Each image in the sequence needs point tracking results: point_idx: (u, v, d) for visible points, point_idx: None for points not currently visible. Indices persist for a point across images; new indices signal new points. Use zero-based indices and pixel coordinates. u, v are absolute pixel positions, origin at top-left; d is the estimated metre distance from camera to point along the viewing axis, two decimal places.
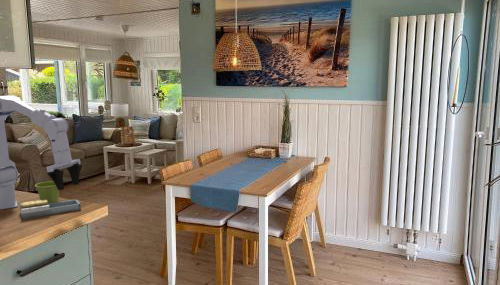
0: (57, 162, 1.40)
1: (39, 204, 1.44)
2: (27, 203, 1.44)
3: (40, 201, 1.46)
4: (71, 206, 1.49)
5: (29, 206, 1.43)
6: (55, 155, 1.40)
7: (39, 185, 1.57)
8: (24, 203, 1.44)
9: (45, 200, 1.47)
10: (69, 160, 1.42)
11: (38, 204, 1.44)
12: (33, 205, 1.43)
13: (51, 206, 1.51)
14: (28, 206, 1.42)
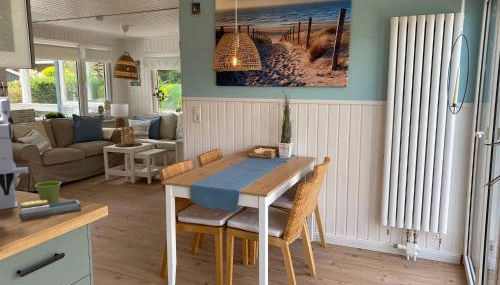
0: None
1: (39, 204, 1.44)
2: (27, 203, 1.44)
3: (40, 201, 1.46)
4: (71, 206, 1.49)
5: (29, 206, 1.43)
6: None
7: (39, 185, 1.57)
8: (24, 203, 1.44)
9: (45, 200, 1.47)
10: (4, 169, 1.36)
11: (38, 204, 1.44)
12: (33, 205, 1.43)
13: (51, 206, 1.51)
14: (28, 206, 1.42)
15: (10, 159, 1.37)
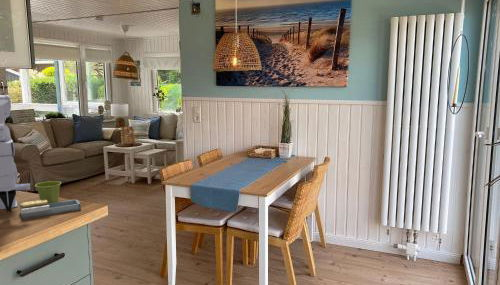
0: None
1: (39, 204, 1.44)
2: (27, 203, 1.44)
3: (40, 201, 1.46)
4: (71, 206, 1.49)
5: (29, 206, 1.43)
6: None
7: (39, 185, 1.57)
8: (24, 203, 1.44)
9: (45, 200, 1.47)
10: (6, 186, 1.37)
11: (38, 204, 1.44)
12: (33, 205, 1.43)
13: (51, 206, 1.51)
14: (28, 206, 1.42)
15: (12, 176, 1.38)
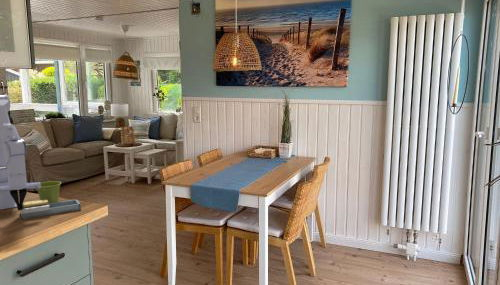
0: (8, 184, 1.40)
1: (39, 204, 1.44)
2: (28, 203, 1.44)
3: (40, 201, 1.46)
4: (71, 206, 1.49)
5: (30, 206, 1.43)
6: (8, 177, 1.40)
7: None
8: (25, 203, 1.44)
9: (45, 200, 1.47)
10: (18, 185, 1.39)
11: (38, 204, 1.44)
12: (34, 205, 1.43)
13: (51, 206, 1.51)
14: (29, 206, 1.43)
15: (23, 175, 1.40)
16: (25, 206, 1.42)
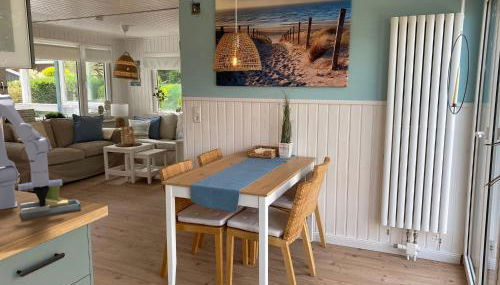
0: None
1: (60, 204, 1.48)
2: (50, 200, 1.48)
3: (61, 201, 1.50)
4: (71, 206, 1.49)
5: (51, 204, 1.47)
6: (31, 174, 1.44)
7: None
8: (47, 199, 1.48)
9: (66, 201, 1.51)
10: (40, 182, 1.43)
11: (59, 204, 1.48)
12: (55, 203, 1.47)
13: None
14: (50, 203, 1.46)
15: (46, 172, 1.44)
16: (47, 202, 1.46)
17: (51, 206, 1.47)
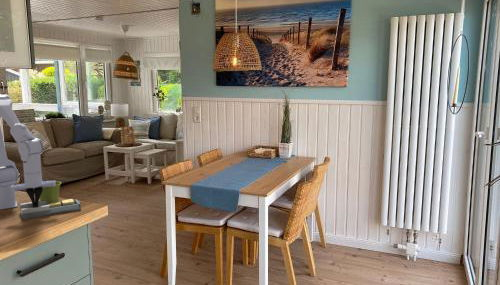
0: None
1: (66, 204, 1.50)
2: (53, 203, 1.49)
3: (67, 201, 1.51)
4: (71, 206, 1.49)
5: (55, 206, 1.48)
6: (24, 175, 1.42)
7: None
8: (50, 203, 1.48)
9: (71, 200, 1.53)
10: (34, 183, 1.42)
11: (65, 204, 1.49)
12: (59, 205, 1.48)
13: None
14: (54, 206, 1.47)
15: (39, 173, 1.43)
16: (51, 206, 1.47)
17: None
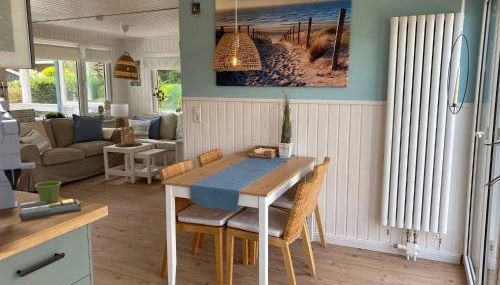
0: (2, 164, 1.39)
1: (66, 204, 1.50)
2: (53, 203, 1.49)
3: (67, 201, 1.51)
4: (71, 206, 1.49)
5: (55, 206, 1.48)
6: (2, 156, 1.39)
7: (39, 185, 1.57)
8: (50, 203, 1.48)
9: (71, 200, 1.53)
10: (12, 164, 1.38)
11: (65, 204, 1.49)
12: (59, 205, 1.48)
13: None
14: (54, 206, 1.47)
15: (18, 155, 1.40)
16: (51, 206, 1.47)
17: None
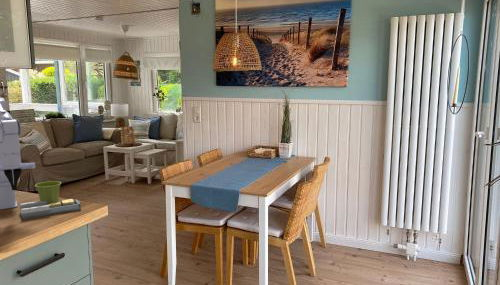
0: (2, 164, 1.39)
1: (66, 204, 1.50)
2: (53, 203, 1.49)
3: (67, 201, 1.51)
4: (71, 206, 1.49)
5: (55, 206, 1.48)
6: (2, 156, 1.39)
7: (39, 185, 1.57)
8: (50, 203, 1.48)
9: (71, 200, 1.53)
10: (12, 164, 1.38)
11: (65, 204, 1.49)
12: (59, 205, 1.48)
13: None
14: (54, 206, 1.47)
15: (18, 155, 1.40)
16: (51, 206, 1.47)
17: None
